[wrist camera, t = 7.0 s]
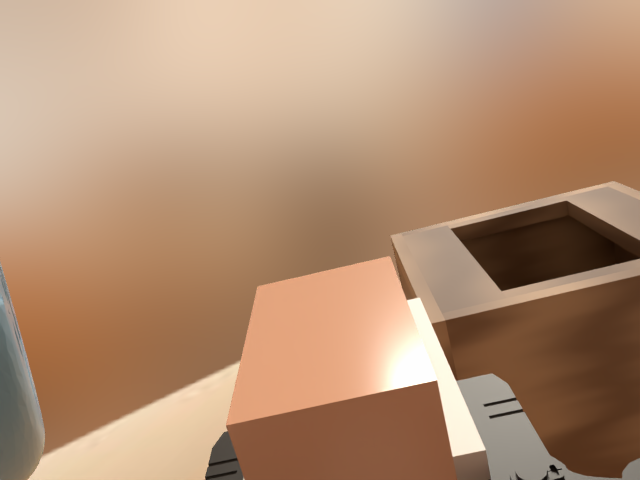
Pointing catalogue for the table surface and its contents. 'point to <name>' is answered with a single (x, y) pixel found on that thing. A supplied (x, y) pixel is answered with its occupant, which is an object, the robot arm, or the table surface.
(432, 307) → the tip box
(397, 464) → the tall salmon pillar block
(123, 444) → the table surface
